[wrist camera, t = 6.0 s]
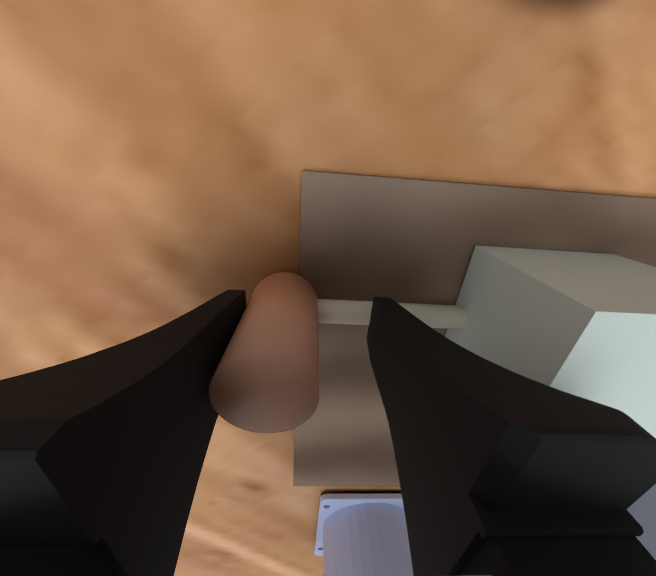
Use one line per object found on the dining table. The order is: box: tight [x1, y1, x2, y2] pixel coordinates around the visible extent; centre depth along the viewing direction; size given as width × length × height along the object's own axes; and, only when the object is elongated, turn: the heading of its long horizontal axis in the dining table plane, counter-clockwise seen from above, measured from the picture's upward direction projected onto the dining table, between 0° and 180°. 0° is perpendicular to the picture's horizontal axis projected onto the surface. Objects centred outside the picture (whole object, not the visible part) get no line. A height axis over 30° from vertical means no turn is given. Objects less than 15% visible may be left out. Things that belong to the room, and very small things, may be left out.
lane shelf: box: [293, 170, 656, 486], centre depth 14 cm, size 20×28×3 cm
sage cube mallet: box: [209, 245, 656, 438], centre depth 9 cm, size 6×15×5 cm, turn 86°
